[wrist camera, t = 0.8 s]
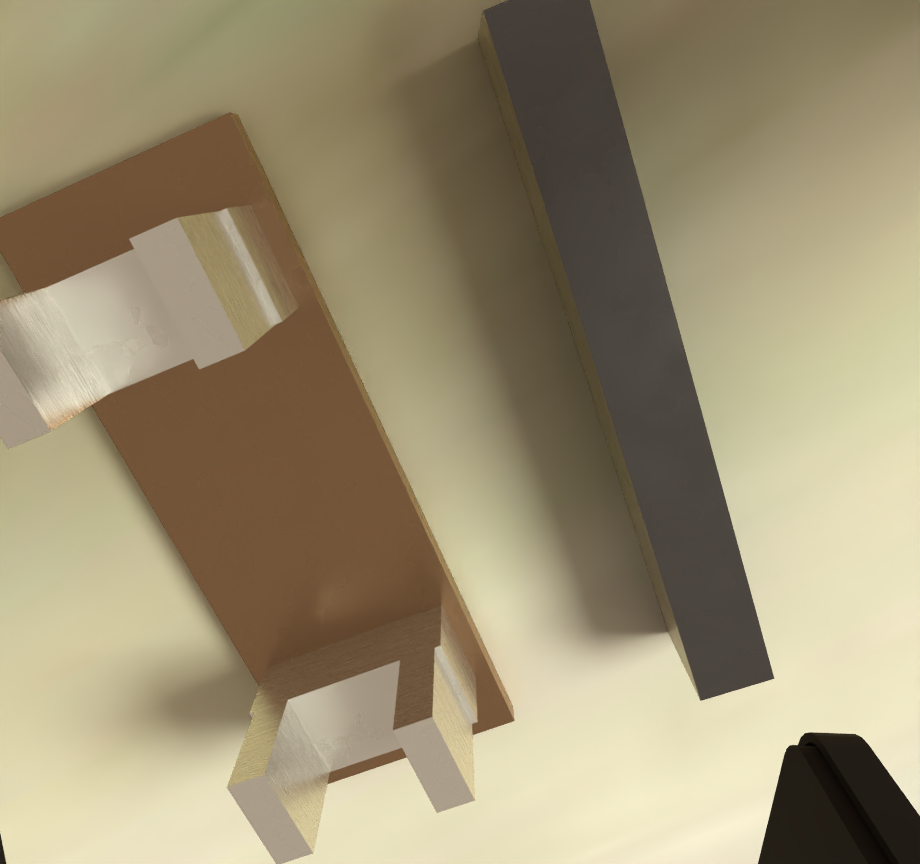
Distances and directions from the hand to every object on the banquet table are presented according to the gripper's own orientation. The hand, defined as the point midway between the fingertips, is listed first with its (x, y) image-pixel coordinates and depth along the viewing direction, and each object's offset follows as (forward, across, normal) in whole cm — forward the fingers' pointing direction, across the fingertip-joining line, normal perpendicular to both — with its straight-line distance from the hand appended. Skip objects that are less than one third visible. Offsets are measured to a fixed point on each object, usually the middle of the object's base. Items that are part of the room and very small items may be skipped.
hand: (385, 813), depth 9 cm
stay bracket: (+22, +6, +6) cm, 24 cm away
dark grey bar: (+23, -8, 0) cm, 24 cm away
